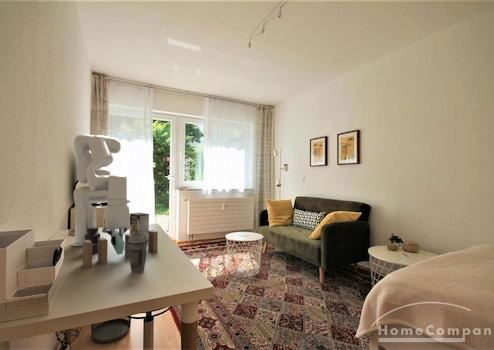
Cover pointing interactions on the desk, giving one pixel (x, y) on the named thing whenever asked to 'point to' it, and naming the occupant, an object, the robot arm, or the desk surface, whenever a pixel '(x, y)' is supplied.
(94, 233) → the supplement bottle
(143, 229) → the coffee box
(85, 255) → the domino
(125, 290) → the desk surface
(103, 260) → the domino
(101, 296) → the desk surface
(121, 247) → the teal domino
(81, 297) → the desk surface
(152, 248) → the domino
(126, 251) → the domino
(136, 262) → the beverage cup
